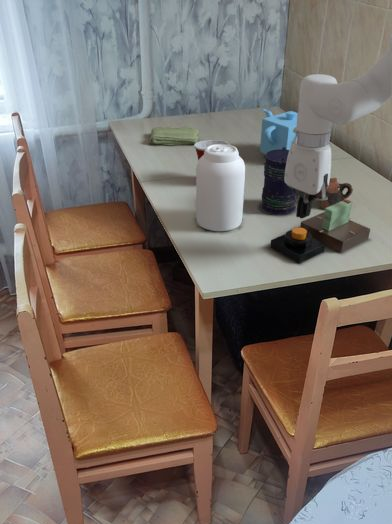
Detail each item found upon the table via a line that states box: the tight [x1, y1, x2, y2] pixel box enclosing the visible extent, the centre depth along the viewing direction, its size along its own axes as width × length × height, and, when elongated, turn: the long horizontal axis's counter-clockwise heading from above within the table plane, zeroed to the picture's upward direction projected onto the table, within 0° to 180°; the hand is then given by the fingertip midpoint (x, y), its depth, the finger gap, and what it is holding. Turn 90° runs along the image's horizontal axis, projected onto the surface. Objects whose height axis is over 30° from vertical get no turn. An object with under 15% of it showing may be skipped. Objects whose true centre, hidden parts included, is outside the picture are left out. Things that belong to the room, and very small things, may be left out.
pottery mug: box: [320, 177, 354, 210], centre depth 157 cm, size 12×10×8 cm
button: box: [291, 226, 307, 240], centre depth 134 cm, size 4×4×2 cm
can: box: [195, 144, 246, 232], centre depth 142 cm, size 12×12×20 cm
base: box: [299, 211, 371, 253], centre depth 141 cm, size 14×12×3 cm
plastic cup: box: [193, 139, 231, 162], centre depth 165 cm, size 11×11×12 cm
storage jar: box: [260, 147, 297, 216], centre depth 149 cm, size 10×10×18 cm
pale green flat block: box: [322, 198, 353, 231], centre depth 138 cm, size 8×2×6 cm, turn 130°
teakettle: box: [259, 108, 298, 155], centre depth 181 cm, size 19×19×15 cm
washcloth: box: [149, 126, 200, 146], centre depth 198 cm, size 13×18×3 cm
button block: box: [269, 229, 326, 264], centre depth 135 cm, size 10×9×4 cm
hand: (303, 215), depth 130 cm, fingers closed
